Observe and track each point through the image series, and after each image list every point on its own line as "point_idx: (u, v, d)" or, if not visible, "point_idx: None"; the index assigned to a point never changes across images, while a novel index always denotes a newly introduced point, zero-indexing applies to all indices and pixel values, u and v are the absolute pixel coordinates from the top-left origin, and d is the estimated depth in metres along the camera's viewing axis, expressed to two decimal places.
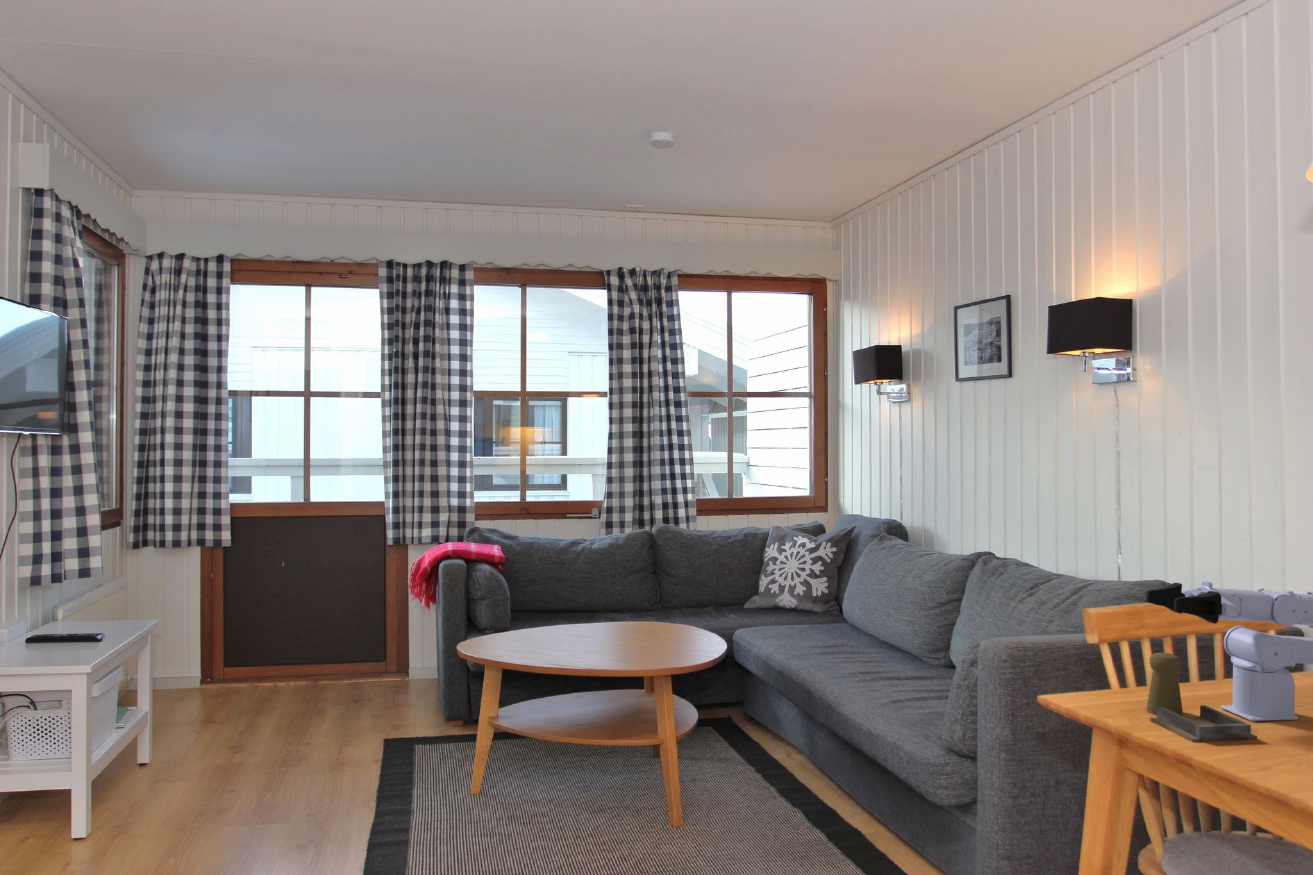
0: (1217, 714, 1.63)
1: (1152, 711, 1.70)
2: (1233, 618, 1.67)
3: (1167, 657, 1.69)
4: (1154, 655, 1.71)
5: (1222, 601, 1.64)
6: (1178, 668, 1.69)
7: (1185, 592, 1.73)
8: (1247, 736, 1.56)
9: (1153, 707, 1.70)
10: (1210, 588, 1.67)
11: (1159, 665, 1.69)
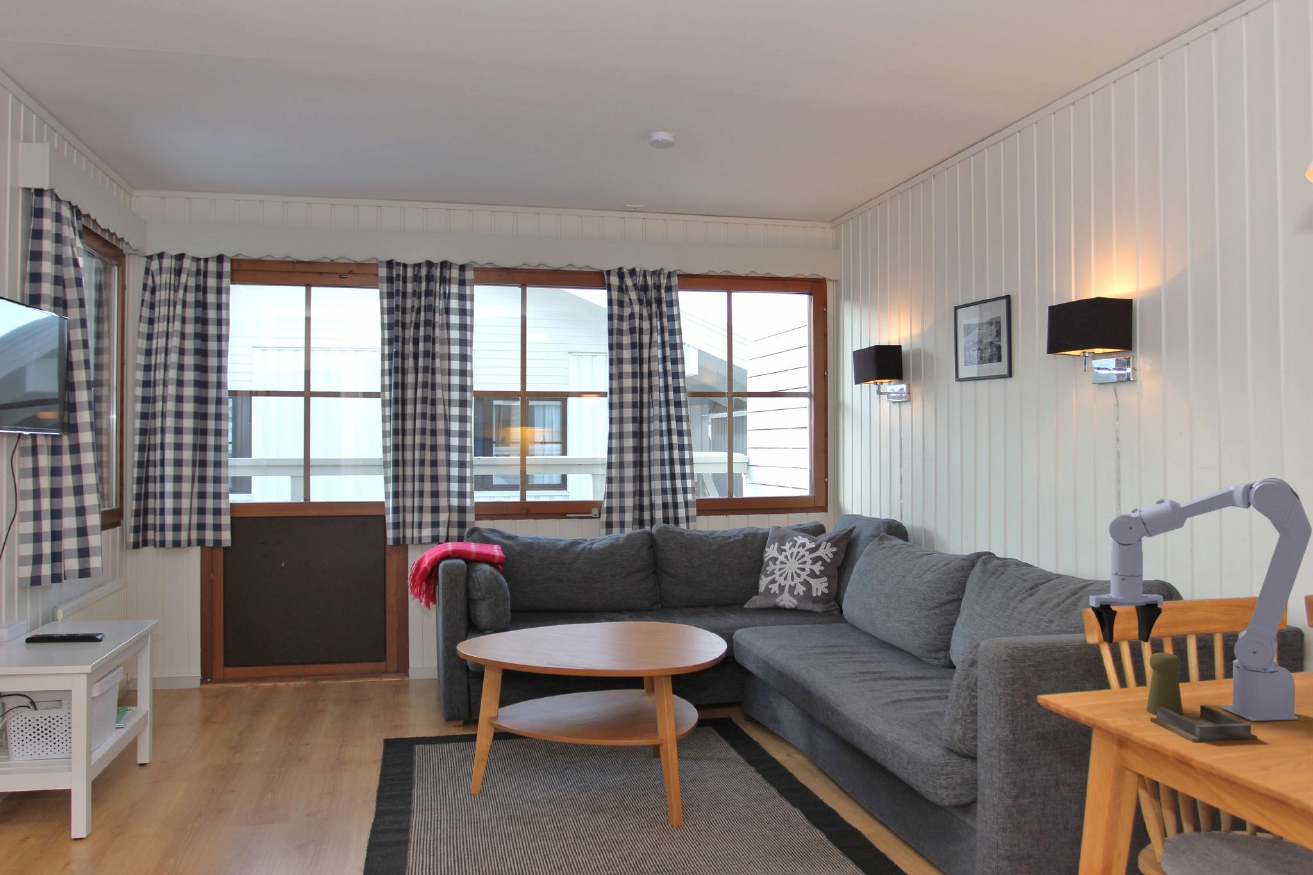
0: (1217, 714, 1.63)
1: (1152, 711, 1.70)
2: (1125, 577, 1.80)
3: (1167, 657, 1.69)
4: (1154, 655, 1.71)
5: None
6: (1178, 668, 1.69)
7: None
8: (1247, 736, 1.56)
9: (1153, 707, 1.70)
10: None
11: (1159, 665, 1.69)
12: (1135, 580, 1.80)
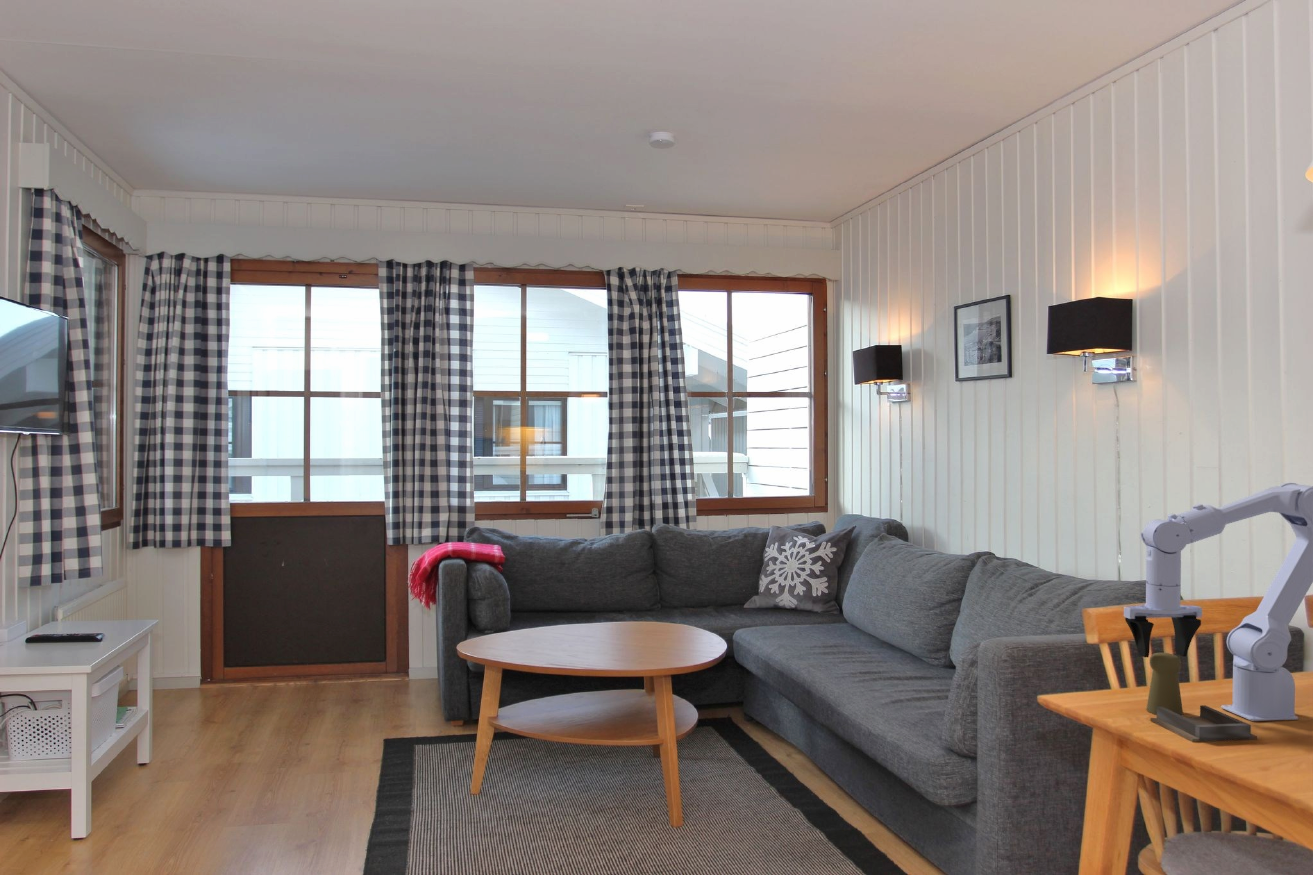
0: (1217, 714, 1.63)
1: (1152, 711, 1.70)
2: (1162, 587, 1.69)
3: (1167, 657, 1.69)
4: (1154, 655, 1.71)
5: None
6: (1178, 668, 1.69)
7: None
8: (1247, 736, 1.56)
9: (1153, 707, 1.70)
10: None
11: (1159, 665, 1.69)
12: (1173, 590, 1.69)
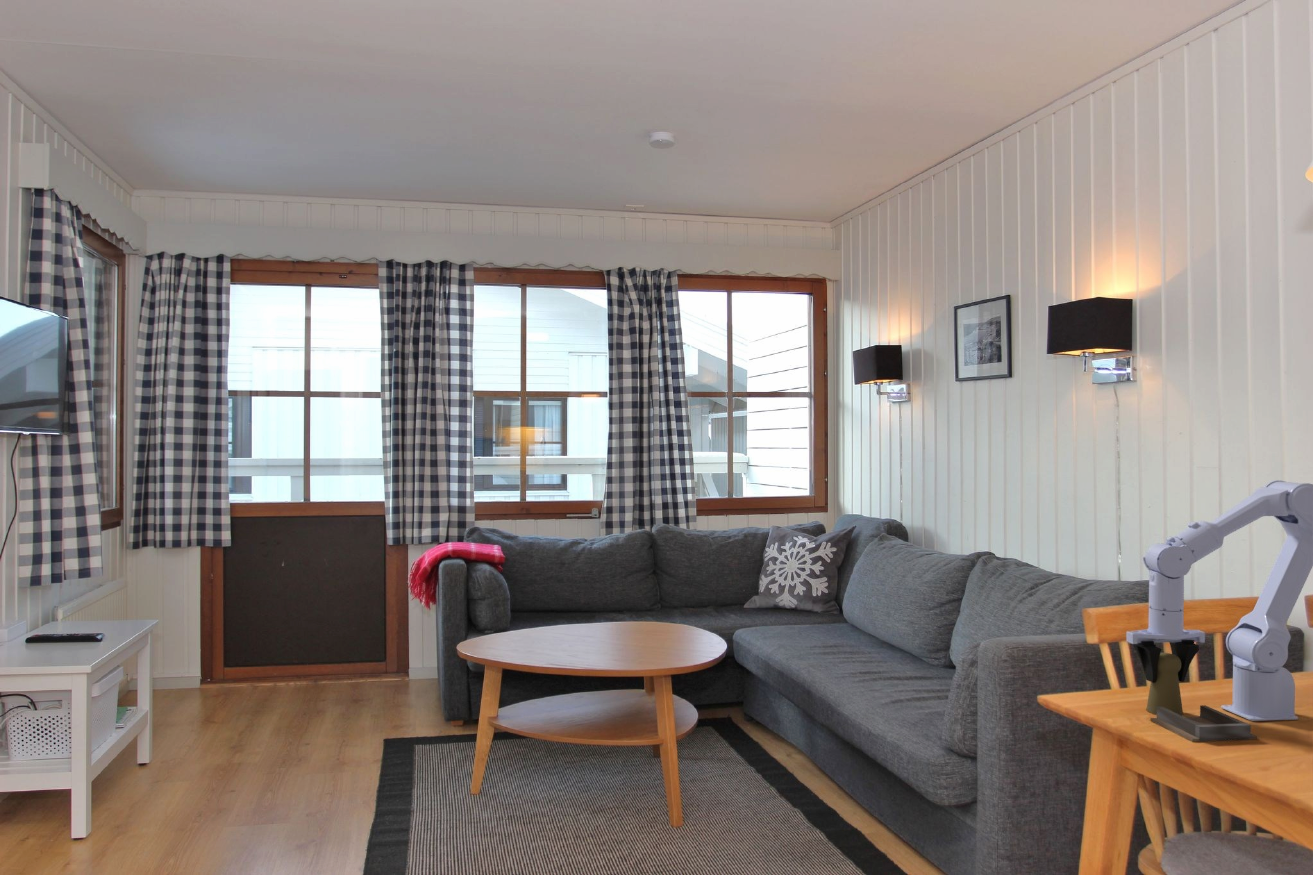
0: (1217, 714, 1.63)
1: (1152, 711, 1.70)
2: (1165, 612, 1.68)
3: (1167, 657, 1.69)
4: None
5: None
6: (1178, 668, 1.69)
7: None
8: (1247, 736, 1.56)
9: (1153, 707, 1.70)
10: None
11: (1159, 665, 1.69)
12: (1176, 615, 1.68)
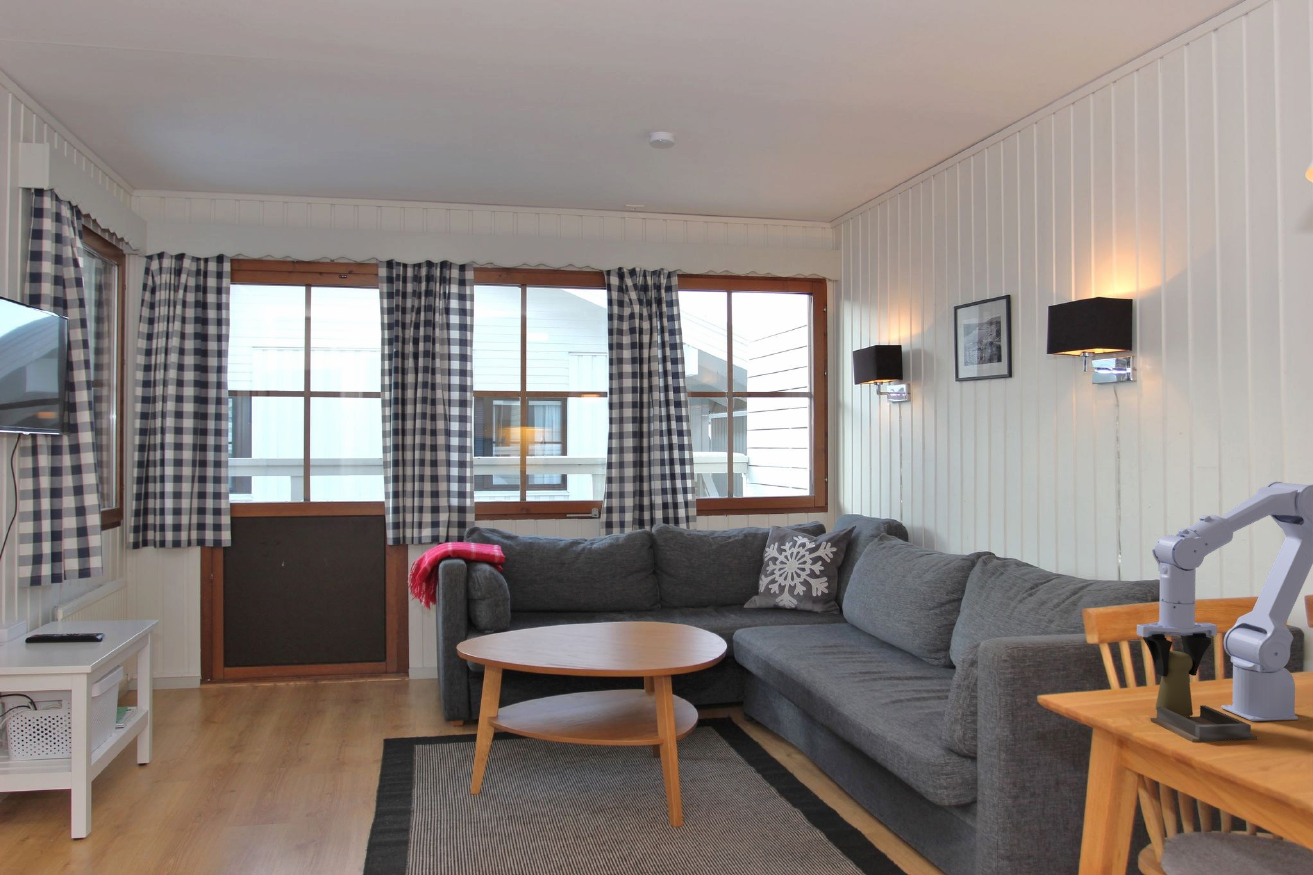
0: (1217, 714, 1.63)
1: None
2: (1177, 605, 1.65)
3: (1178, 655, 1.66)
4: None
5: None
6: (1189, 667, 1.66)
7: None
8: (1247, 736, 1.56)
9: (1162, 705, 1.67)
10: None
11: (1169, 663, 1.67)
12: (1187, 608, 1.65)
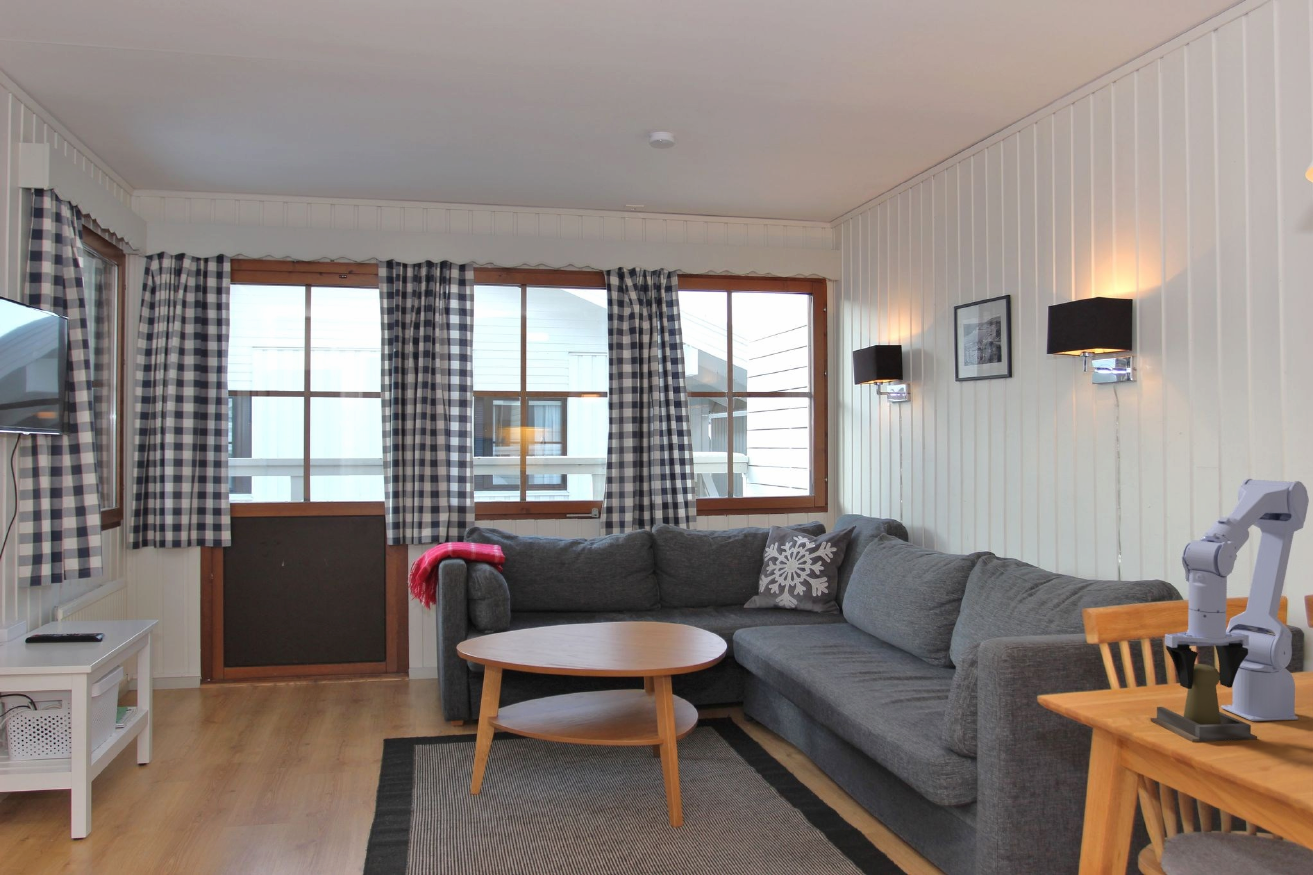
0: None
1: None
2: (1207, 614, 1.58)
3: (1205, 669, 1.59)
4: None
5: None
6: (1217, 681, 1.59)
7: None
8: (1247, 736, 1.56)
9: None
10: None
11: (1196, 678, 1.59)
12: (1218, 617, 1.57)
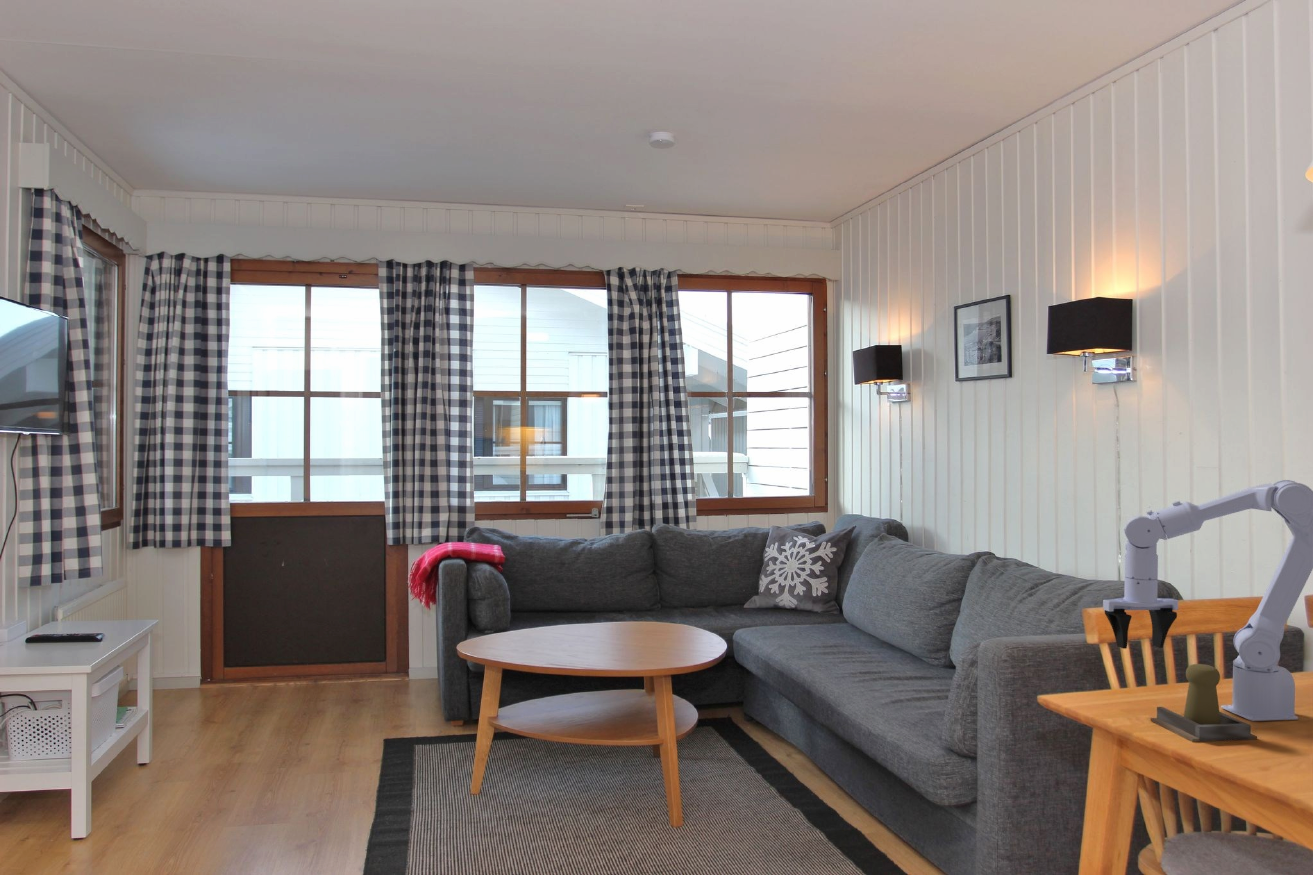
0: None
1: None
2: (1140, 581, 1.76)
3: (1205, 669, 1.59)
4: (1191, 667, 1.61)
5: None
6: (1217, 681, 1.59)
7: None
8: (1247, 736, 1.56)
9: None
10: None
11: (1196, 678, 1.59)
12: (1150, 584, 1.75)
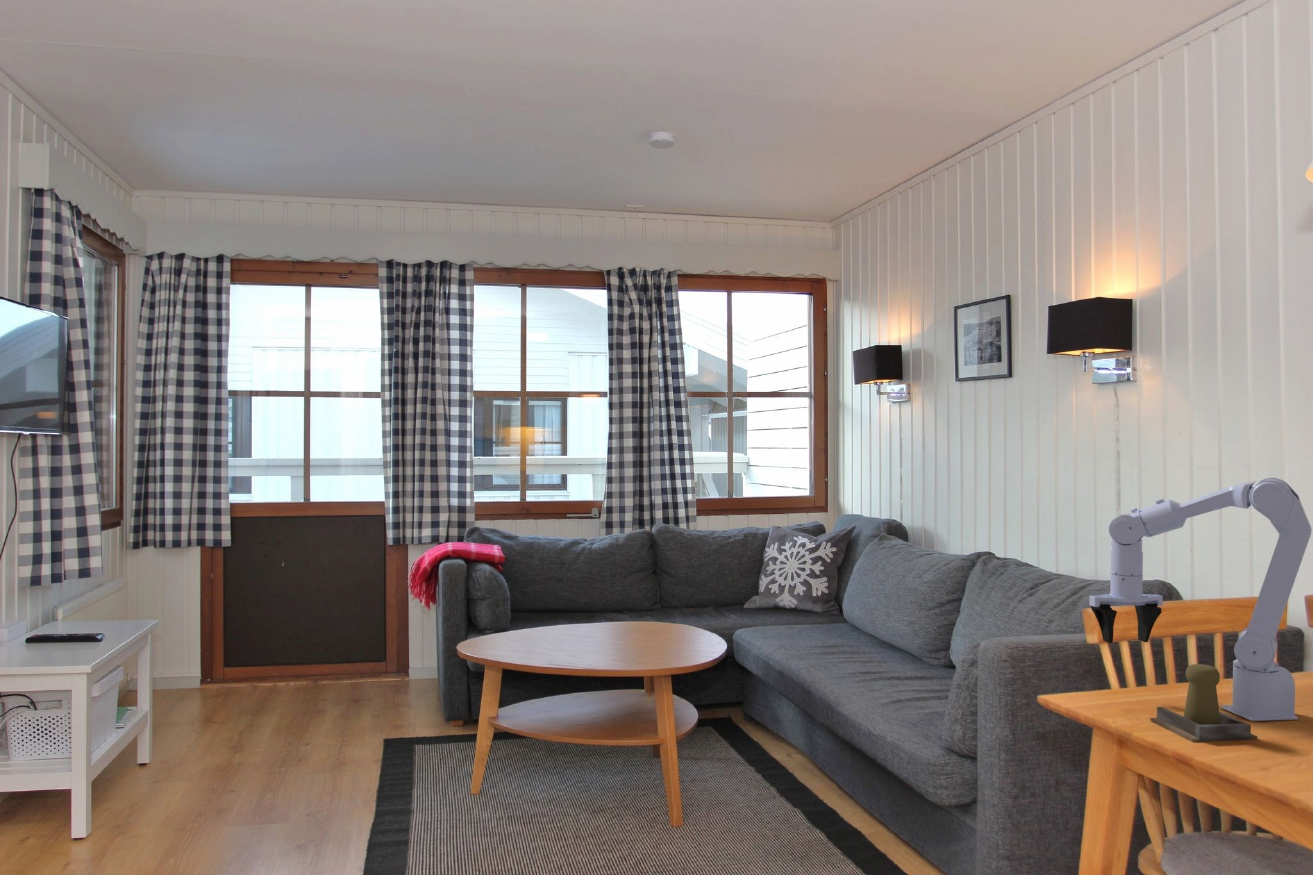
0: None
1: None
2: (1125, 577, 1.80)
3: (1205, 669, 1.59)
4: (1191, 667, 1.61)
5: None
6: (1217, 681, 1.59)
7: None
8: (1247, 736, 1.56)
9: None
10: None
11: (1196, 678, 1.59)
12: (1135, 580, 1.80)
